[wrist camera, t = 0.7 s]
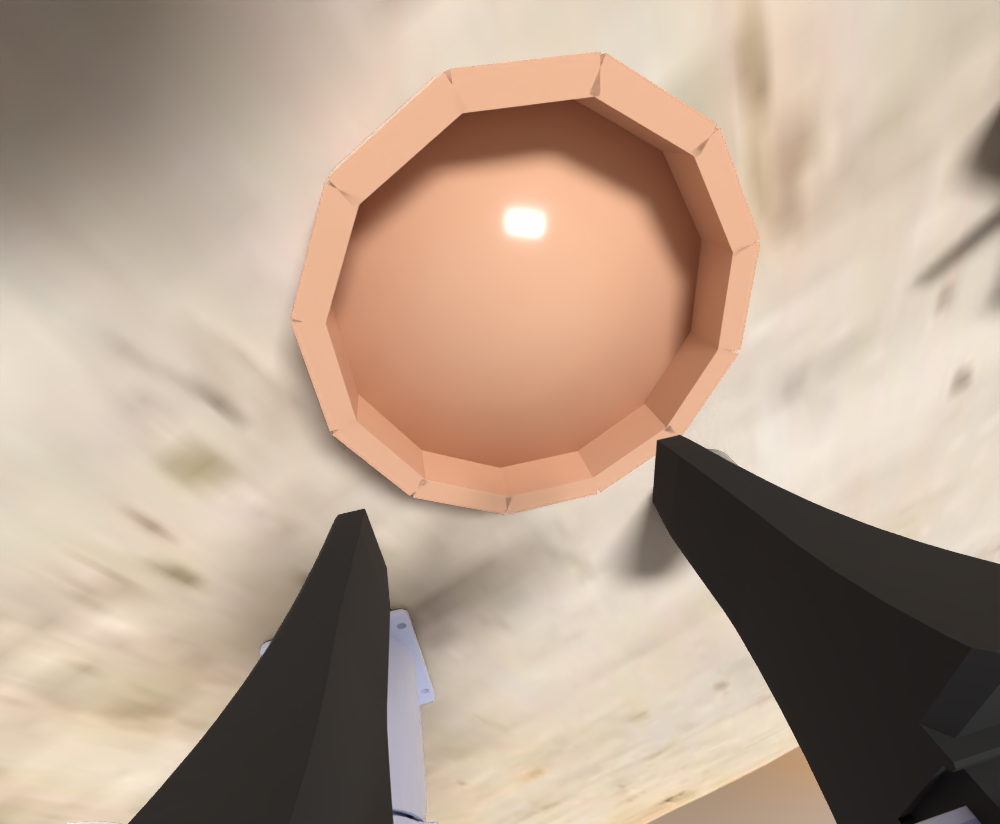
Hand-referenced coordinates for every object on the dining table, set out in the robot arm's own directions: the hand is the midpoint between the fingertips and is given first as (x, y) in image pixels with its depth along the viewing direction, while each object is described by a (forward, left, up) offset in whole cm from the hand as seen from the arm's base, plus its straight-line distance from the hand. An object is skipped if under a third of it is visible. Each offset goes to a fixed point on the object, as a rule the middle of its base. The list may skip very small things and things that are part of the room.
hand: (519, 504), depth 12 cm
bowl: (+1, -3, -10) cm, 10 cm away
